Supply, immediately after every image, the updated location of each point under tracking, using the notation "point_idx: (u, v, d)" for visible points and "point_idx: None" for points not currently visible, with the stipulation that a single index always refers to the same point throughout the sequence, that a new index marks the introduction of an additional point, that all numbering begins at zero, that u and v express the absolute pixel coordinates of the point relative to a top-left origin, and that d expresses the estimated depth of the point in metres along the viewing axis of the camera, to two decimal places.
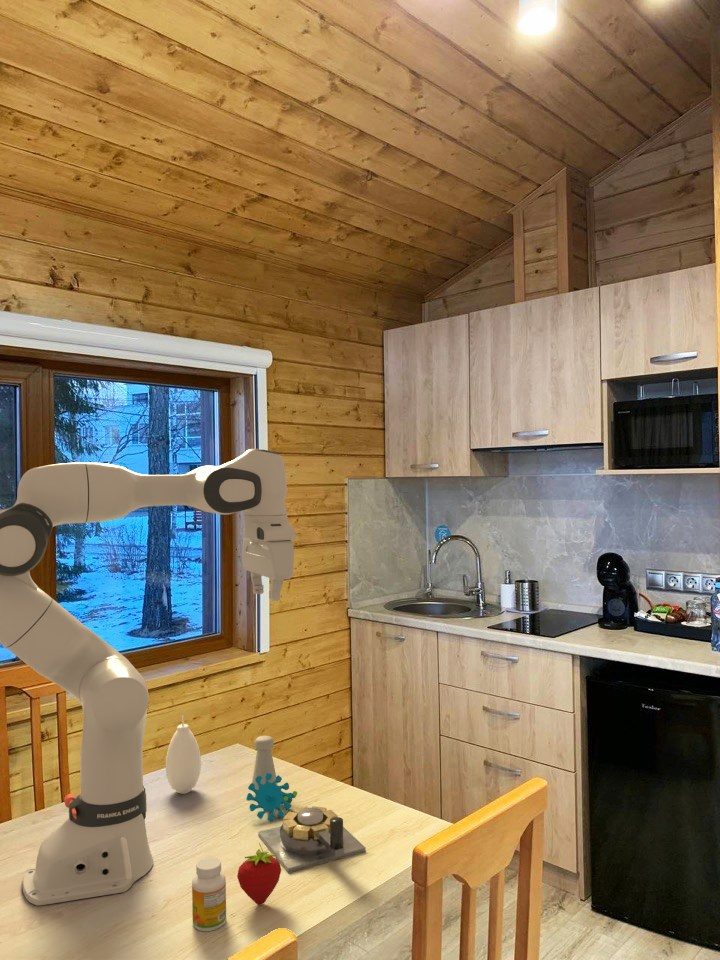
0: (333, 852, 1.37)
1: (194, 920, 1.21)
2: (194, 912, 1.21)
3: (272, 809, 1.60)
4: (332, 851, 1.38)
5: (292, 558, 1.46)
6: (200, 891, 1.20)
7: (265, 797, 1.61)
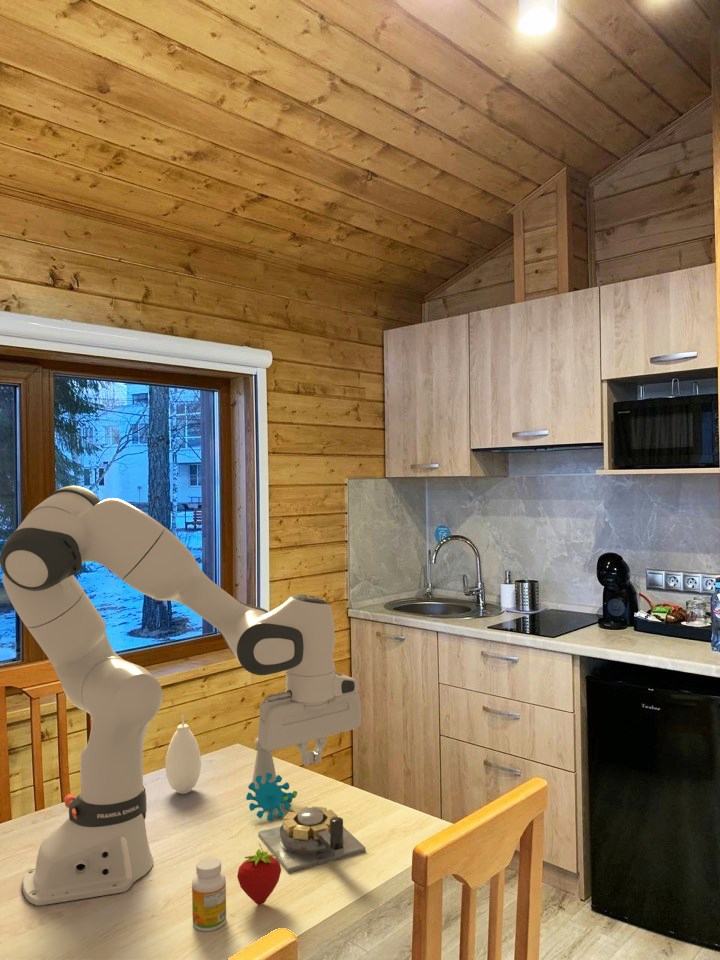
0: (333, 852, 1.37)
1: (194, 920, 1.21)
2: (194, 912, 1.21)
3: (272, 809, 1.60)
4: (332, 851, 1.38)
5: None
6: (200, 891, 1.20)
7: (265, 797, 1.61)
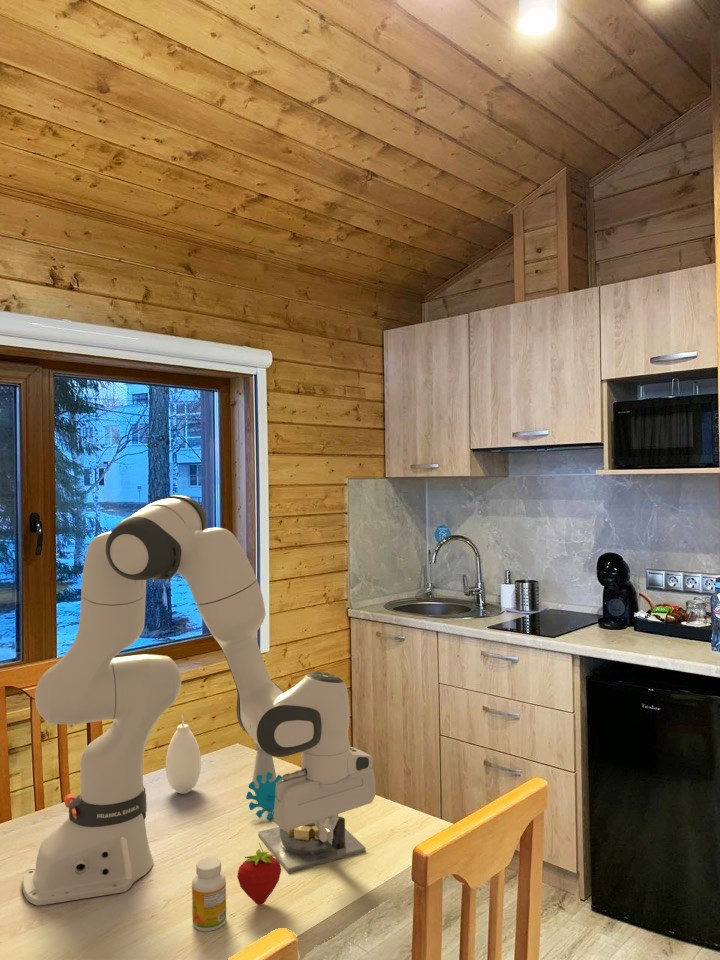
0: (335, 852, 1.37)
1: (194, 920, 1.21)
2: (194, 912, 1.21)
3: (271, 808, 1.60)
4: (334, 851, 1.38)
5: None
6: (200, 891, 1.20)
7: (265, 796, 1.61)
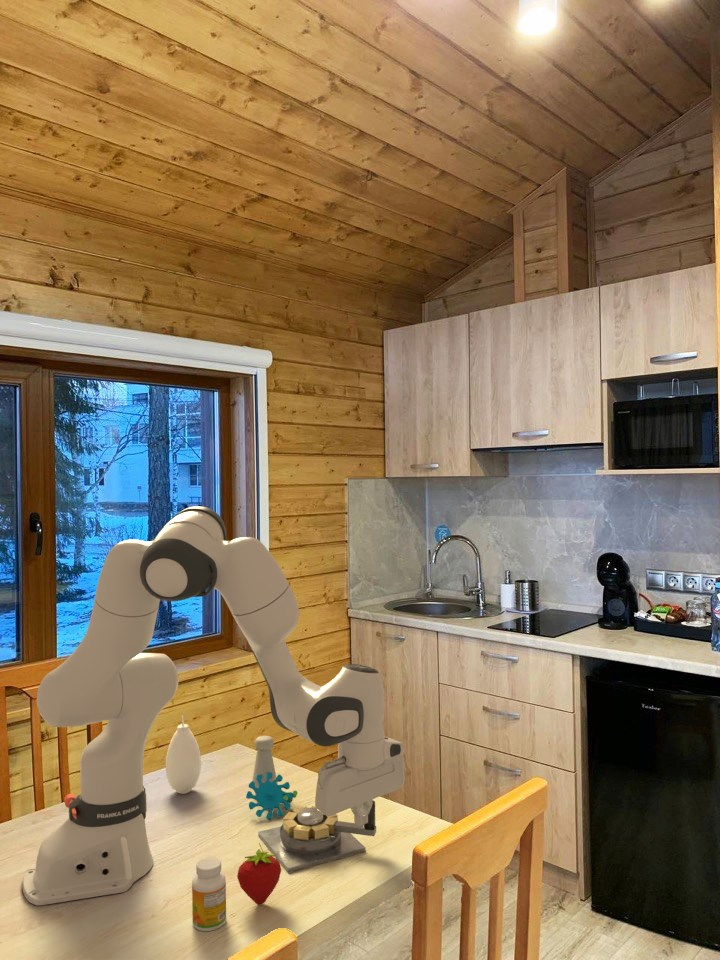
0: (370, 833, 1.44)
1: (194, 920, 1.21)
2: (194, 912, 1.21)
3: (271, 808, 1.60)
4: (368, 833, 1.44)
5: None
6: (200, 891, 1.20)
7: (265, 796, 1.62)
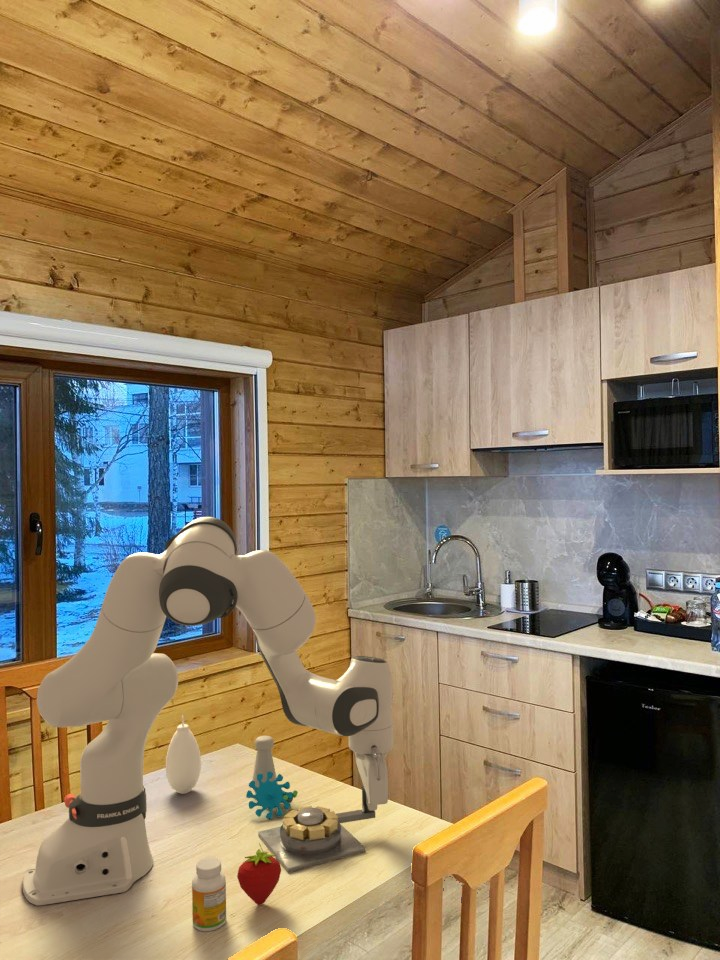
0: (371, 815, 1.52)
1: (194, 920, 1.21)
2: (194, 912, 1.21)
3: (271, 807, 1.60)
4: (369, 816, 1.52)
5: None
6: (200, 891, 1.20)
7: (265, 795, 1.62)
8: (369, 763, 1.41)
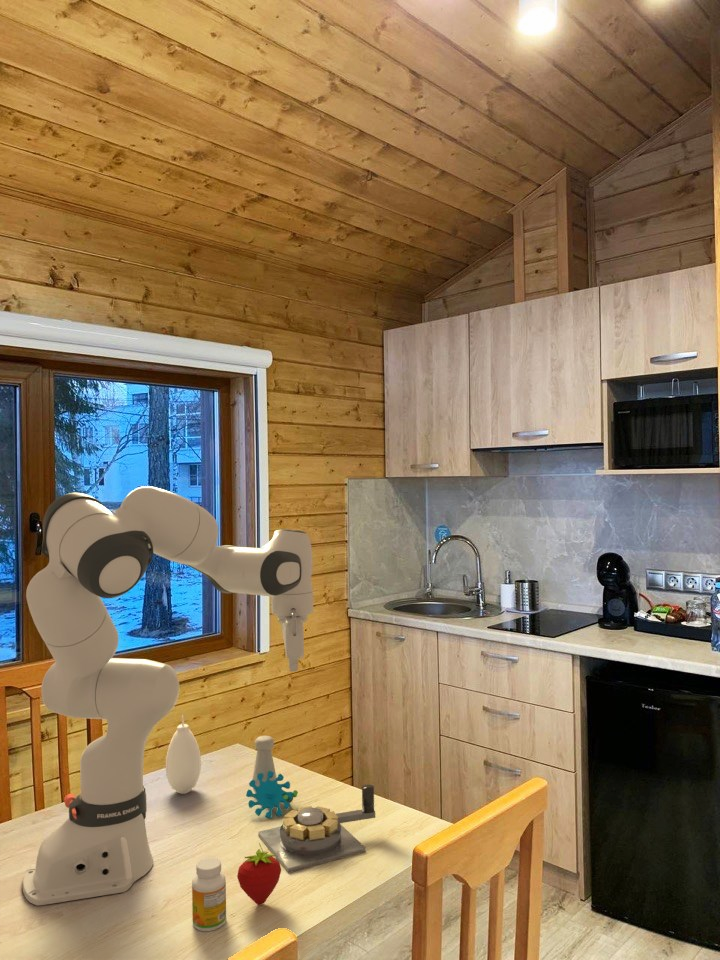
0: (371, 815, 1.52)
1: (194, 920, 1.21)
2: (194, 912, 1.21)
3: (270, 807, 1.61)
4: (369, 816, 1.52)
5: None
6: (200, 891, 1.20)
7: (264, 794, 1.62)
8: (287, 621, 1.53)
